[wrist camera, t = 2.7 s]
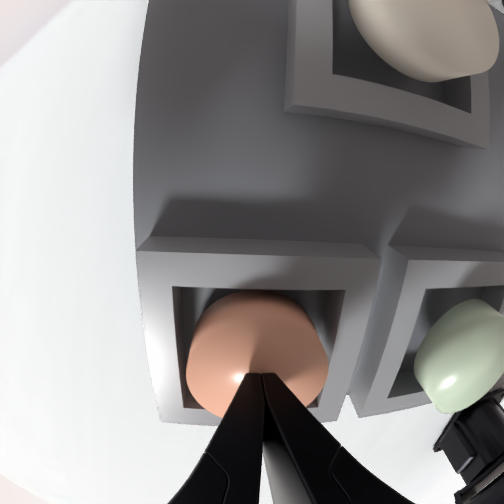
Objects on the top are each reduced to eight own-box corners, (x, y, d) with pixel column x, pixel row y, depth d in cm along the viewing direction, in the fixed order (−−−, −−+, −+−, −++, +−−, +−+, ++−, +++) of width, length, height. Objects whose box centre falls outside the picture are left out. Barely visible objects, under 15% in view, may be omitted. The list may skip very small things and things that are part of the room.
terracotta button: (323, 290, 10) (341, 319, 8) (305, 386, 11) (315, 420, 9) (189, 287, 9) (181, 316, 8) (195, 386, 11) (191, 421, 9)
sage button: (503, 296, 9) (530, 315, 7) (469, 376, 10) (489, 399, 9) (434, 301, 9) (463, 328, 7) (399, 393, 10) (417, 423, 8)
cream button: (455, -5, 5) (485, -20, 4) (467, 98, 7) (505, 95, 5) (344, -48, 5) (364, -78, 3) (349, 61, 6) (378, 41, 5)
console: (478, 31, 10) (531, 16, 5) (441, 344, 16) (479, 388, 11) (178, -37, 8) (160, -94, 4) (166, 354, 14) (148, 420, 10)
